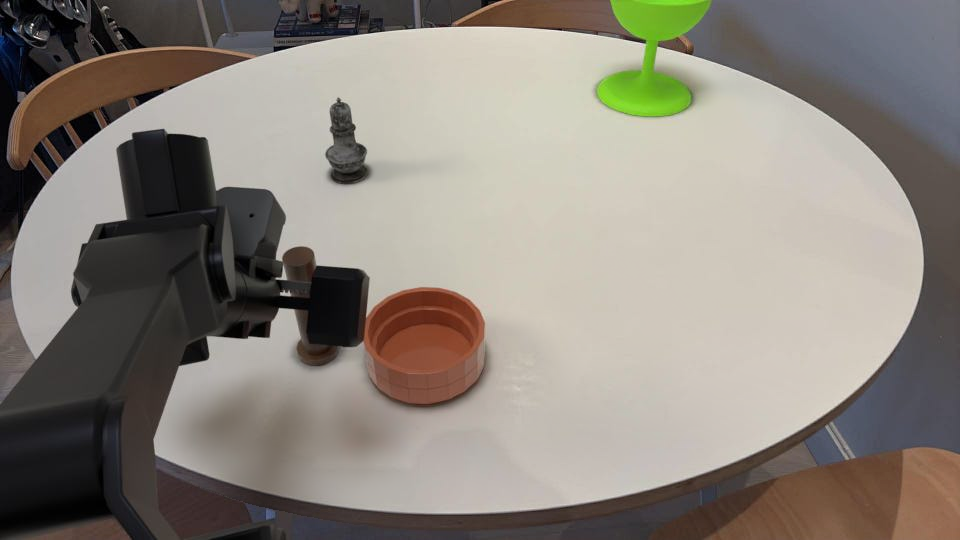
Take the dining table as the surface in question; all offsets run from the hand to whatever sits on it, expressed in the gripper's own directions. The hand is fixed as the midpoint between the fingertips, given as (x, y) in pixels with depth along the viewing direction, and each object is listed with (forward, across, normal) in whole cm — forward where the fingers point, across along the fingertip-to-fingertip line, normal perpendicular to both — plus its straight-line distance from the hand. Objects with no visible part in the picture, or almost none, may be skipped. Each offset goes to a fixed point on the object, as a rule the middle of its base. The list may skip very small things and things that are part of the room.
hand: (286, 302), depth 64 cm
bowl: (+10, -12, +5) cm, 16 cm away
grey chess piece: (+35, +6, -19) cm, 40 cm away
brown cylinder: (+11, 0, +5) cm, 12 cm away
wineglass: (+56, -38, -41) cm, 79 cm away
